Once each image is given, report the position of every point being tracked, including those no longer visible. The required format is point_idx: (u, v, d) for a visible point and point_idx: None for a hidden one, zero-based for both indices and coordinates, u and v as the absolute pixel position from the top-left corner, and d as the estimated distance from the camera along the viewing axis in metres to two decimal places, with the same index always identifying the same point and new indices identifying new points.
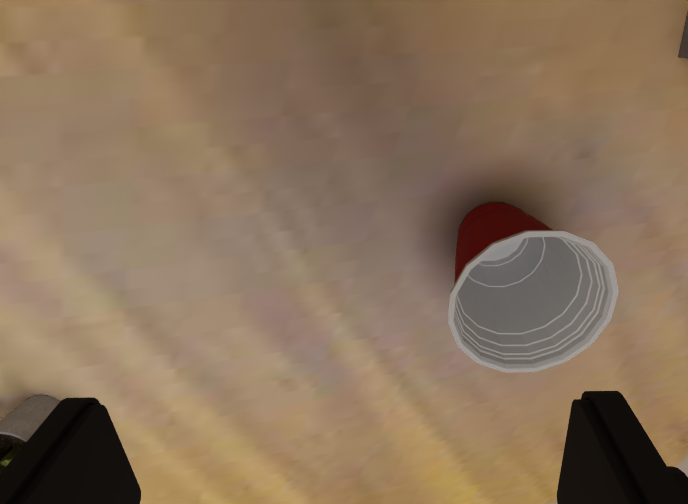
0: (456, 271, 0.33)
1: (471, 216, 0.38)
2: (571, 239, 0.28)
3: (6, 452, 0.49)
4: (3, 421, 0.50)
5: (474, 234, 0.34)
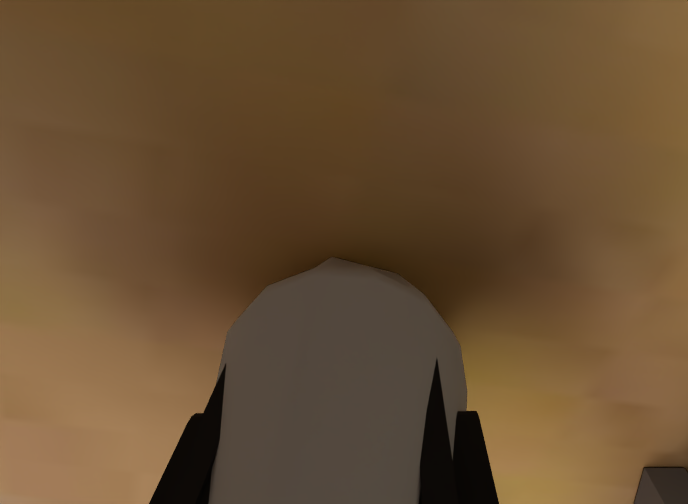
0: None
1: None
2: None
3: None
4: None
5: None
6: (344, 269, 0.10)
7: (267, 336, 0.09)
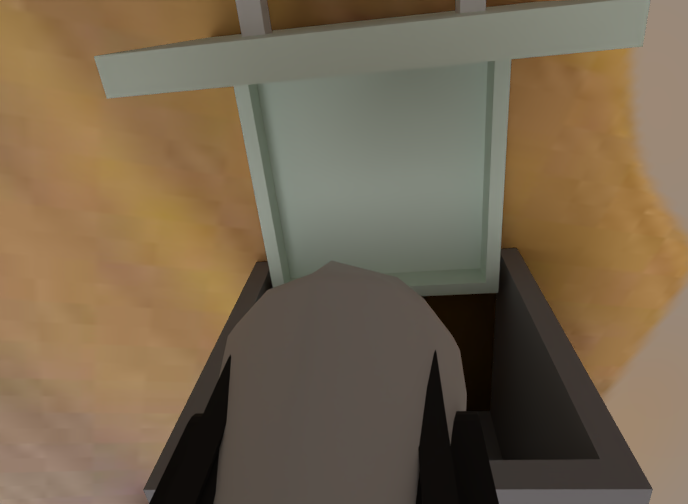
0: None
1: None
2: None
3: None
4: None
5: None
6: (344, 274, 0.10)
7: (267, 342, 0.09)
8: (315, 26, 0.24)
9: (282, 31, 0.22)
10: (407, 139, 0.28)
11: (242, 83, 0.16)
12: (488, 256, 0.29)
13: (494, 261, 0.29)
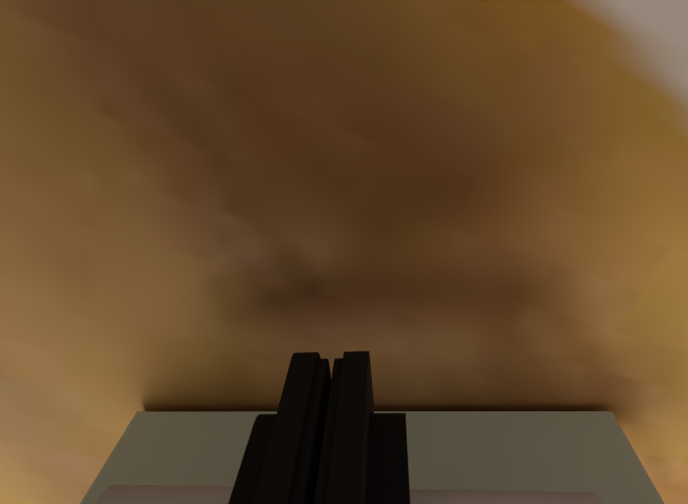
0: None
1: None
2: None
3: None
4: None
5: None
6: None
7: None
8: None
9: None
10: None
11: None
12: None
13: None
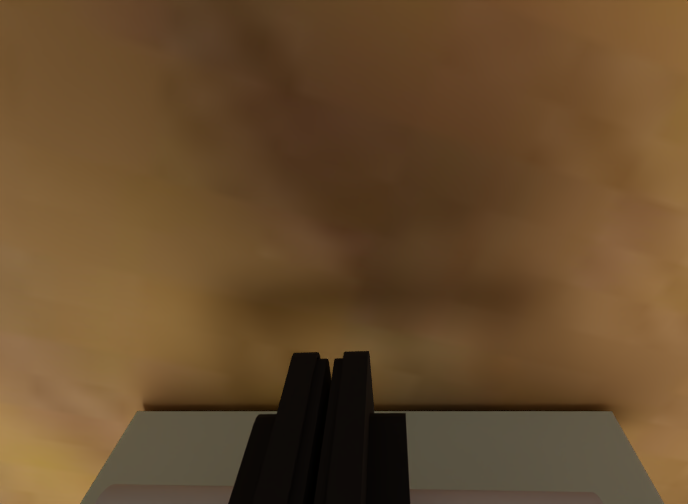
0: None
1: None
2: None
3: None
4: None
5: None
6: None
7: None
8: None
9: None
10: None
11: None
12: None
13: None
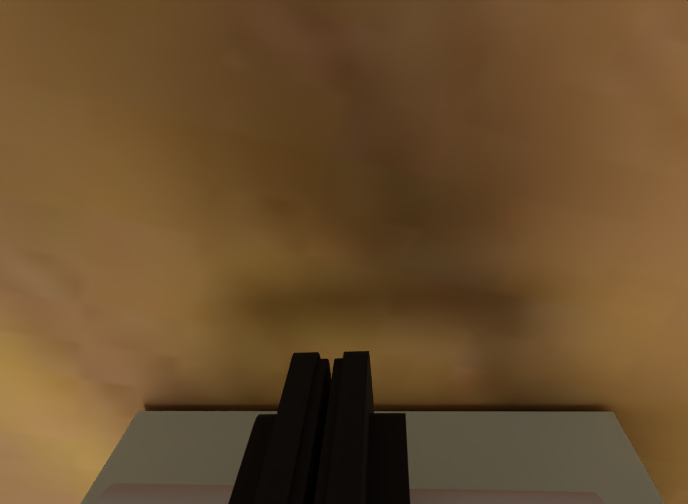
0: None
1: None
2: None
3: None
4: None
5: None
6: None
7: None
8: None
9: None
10: None
11: None
12: None
13: None
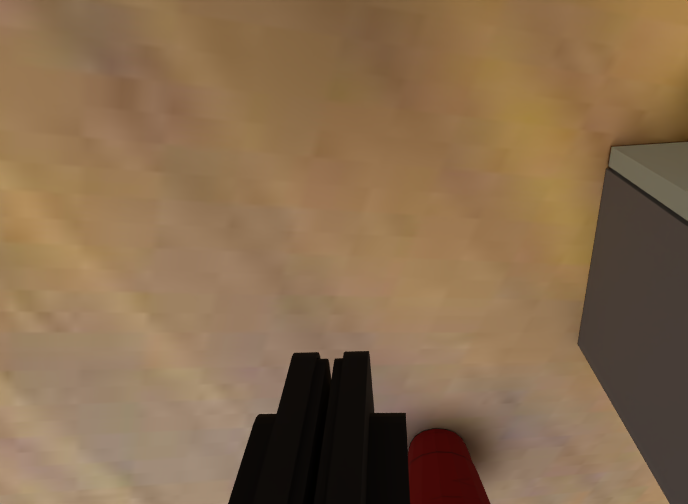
0: None
1: (417, 445, 0.47)
2: None
3: None
4: None
5: (414, 483, 0.42)
6: None
7: None
8: None
9: None
10: None
11: None
12: None
13: None
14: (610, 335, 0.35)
